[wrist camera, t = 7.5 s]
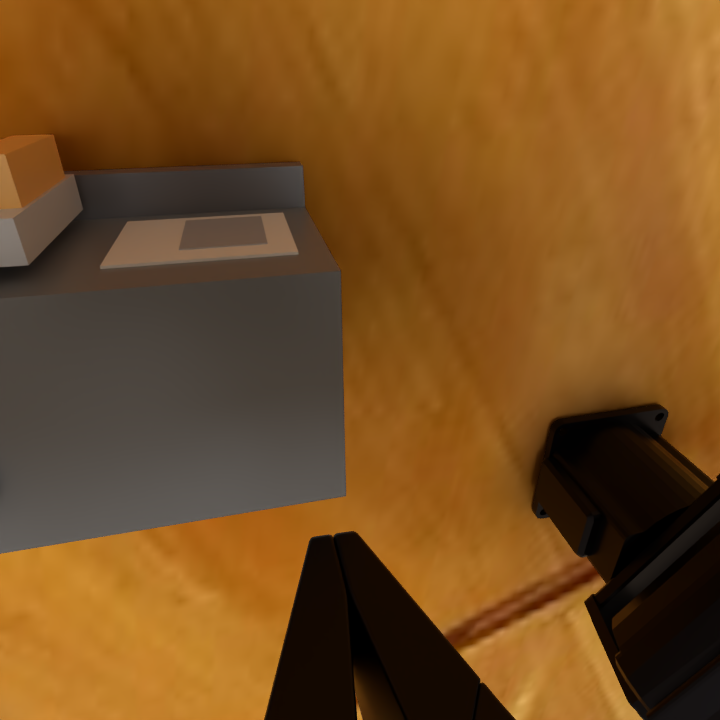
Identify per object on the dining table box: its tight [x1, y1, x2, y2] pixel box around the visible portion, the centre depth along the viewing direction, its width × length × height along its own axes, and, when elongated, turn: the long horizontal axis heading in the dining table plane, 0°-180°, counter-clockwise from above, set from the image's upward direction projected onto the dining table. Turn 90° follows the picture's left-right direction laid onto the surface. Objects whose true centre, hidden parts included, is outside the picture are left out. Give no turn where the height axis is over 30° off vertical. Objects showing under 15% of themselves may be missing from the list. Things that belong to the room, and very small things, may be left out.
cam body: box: [0, 162, 346, 554], centre depth 15 cm, size 13×8×8 cm, turn 91°
